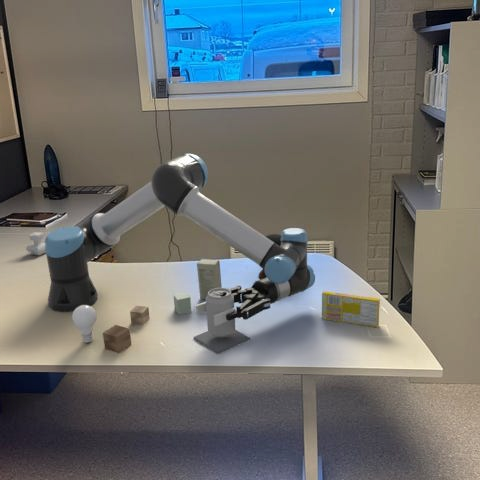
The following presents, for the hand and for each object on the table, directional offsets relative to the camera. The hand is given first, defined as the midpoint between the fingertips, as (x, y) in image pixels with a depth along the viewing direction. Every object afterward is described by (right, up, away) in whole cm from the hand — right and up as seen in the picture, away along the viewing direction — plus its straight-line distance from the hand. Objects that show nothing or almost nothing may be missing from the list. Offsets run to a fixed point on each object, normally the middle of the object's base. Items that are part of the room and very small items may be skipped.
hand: (205, 315), depth 147 cm
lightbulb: (-33, -9, +7) cm, 35 cm away
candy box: (+40, -4, +13) cm, 42 cm away
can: (+4, -5, +5) cm, 9 cm away
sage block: (-8, -2, +23) cm, 25 cm away
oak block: (-20, -4, +18) cm, 27 cm away
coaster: (+4, -7, +6) cm, 10 cm away
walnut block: (-24, -9, +4) cm, 26 cm away
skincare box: (0, +1, +32) cm, 32 cm away
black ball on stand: (+21, +7, +46) cm, 51 cm away
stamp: (-71, +14, +76) cm, 105 cm away
